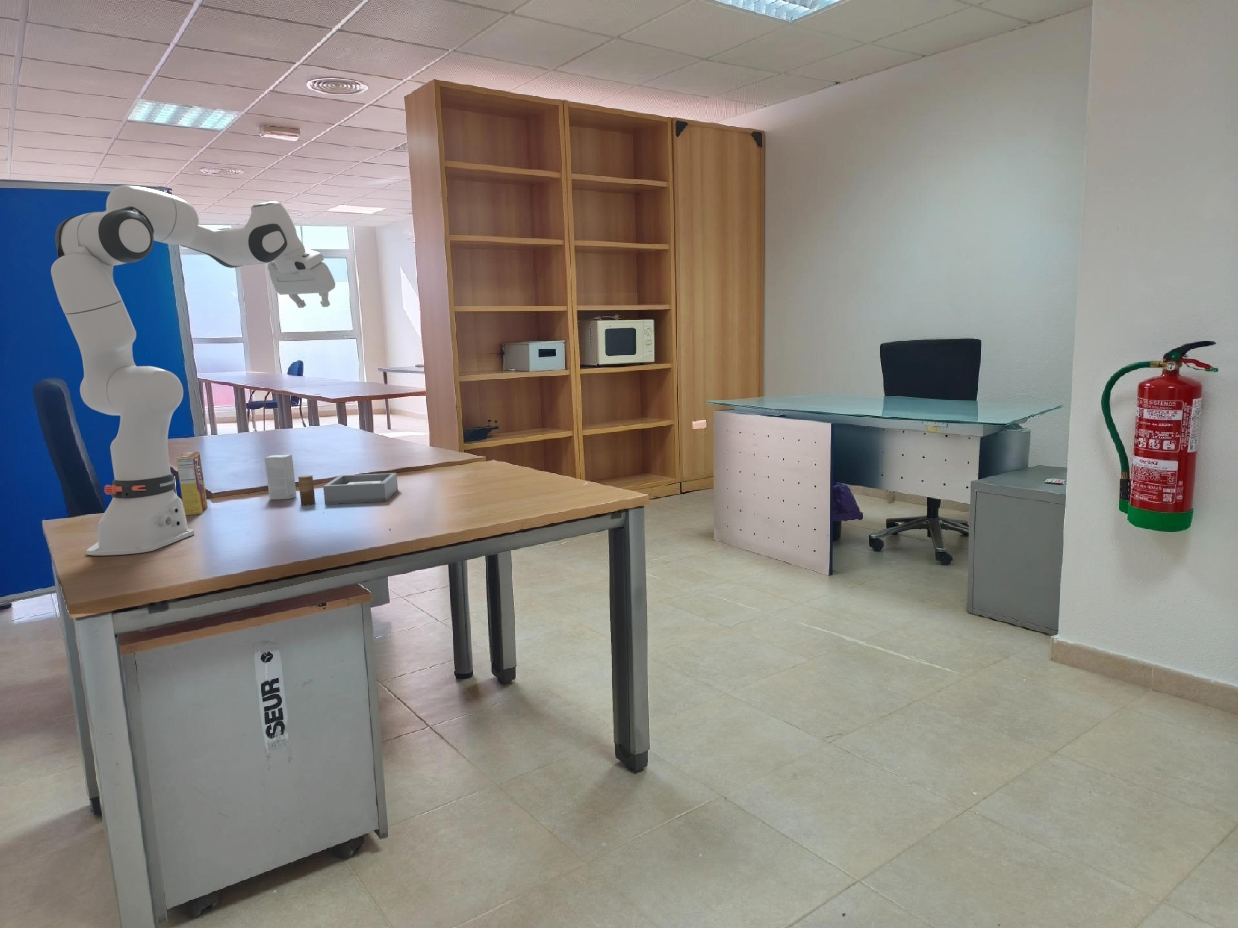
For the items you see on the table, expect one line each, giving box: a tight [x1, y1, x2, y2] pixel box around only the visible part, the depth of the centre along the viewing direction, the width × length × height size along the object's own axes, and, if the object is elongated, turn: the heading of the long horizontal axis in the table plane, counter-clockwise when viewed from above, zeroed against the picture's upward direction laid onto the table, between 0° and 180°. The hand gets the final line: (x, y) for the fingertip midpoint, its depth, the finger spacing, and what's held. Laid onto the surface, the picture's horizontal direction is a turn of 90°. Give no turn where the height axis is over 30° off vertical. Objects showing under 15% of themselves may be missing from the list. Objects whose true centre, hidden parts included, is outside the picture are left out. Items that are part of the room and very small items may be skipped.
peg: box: [297, 474, 316, 506], centre depth 213 cm, size 4×4×8 cm
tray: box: [322, 472, 399, 505], centre depth 220 cm, size 16×16×5 cm
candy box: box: [175, 451, 208, 516], centre depth 207 cm, size 9×4×15 cm, turn 17°
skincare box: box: [264, 454, 297, 501], centre depth 222 cm, size 6×4×12 cm
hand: (314, 306), depth 223 cm, fingers open, 8 cm apart
